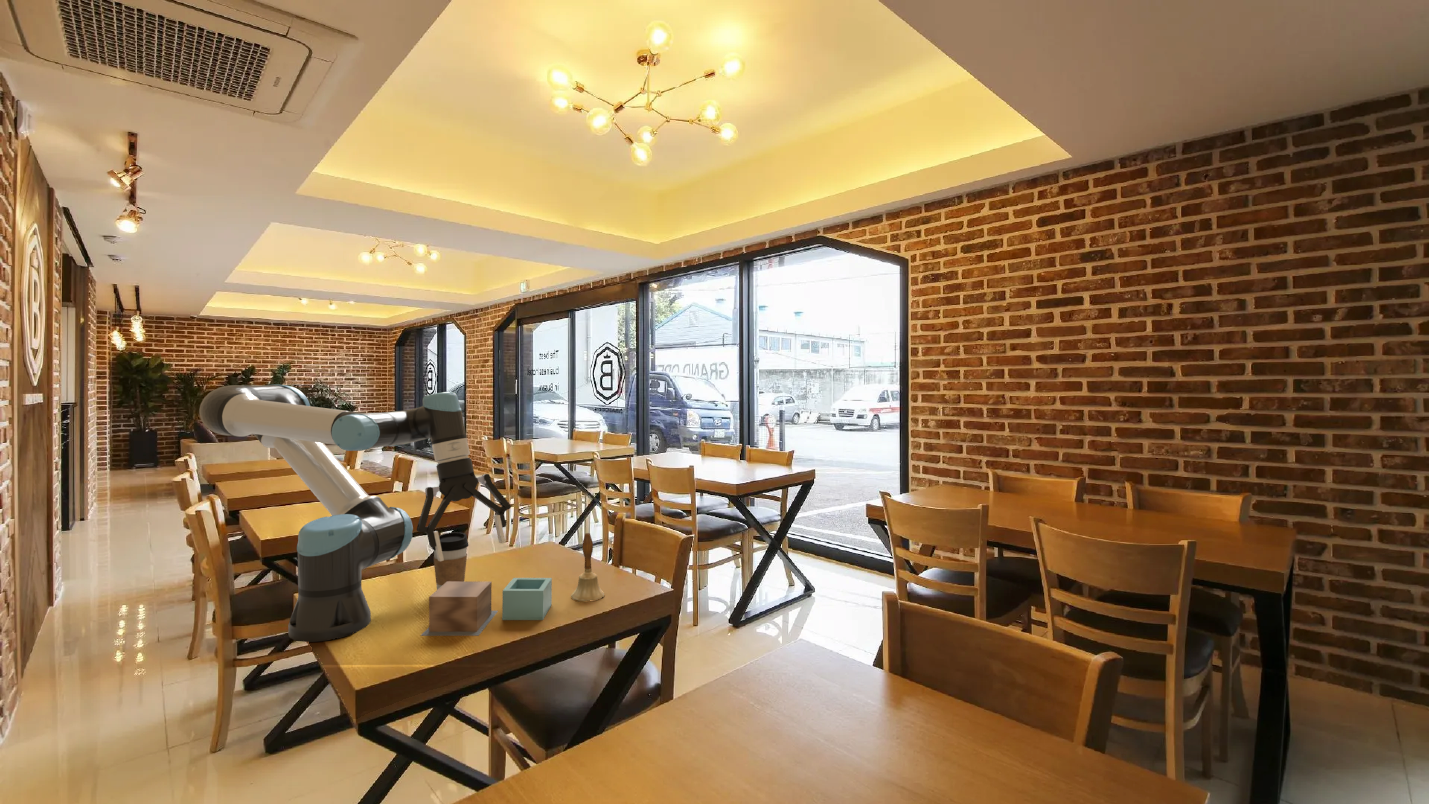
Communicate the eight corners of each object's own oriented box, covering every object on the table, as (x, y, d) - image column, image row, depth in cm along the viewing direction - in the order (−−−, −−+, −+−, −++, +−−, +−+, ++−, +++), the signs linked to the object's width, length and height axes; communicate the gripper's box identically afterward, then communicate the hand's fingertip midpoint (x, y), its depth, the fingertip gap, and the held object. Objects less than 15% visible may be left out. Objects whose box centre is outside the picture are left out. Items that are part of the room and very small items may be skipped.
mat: (420, 637, 131) (420, 635, 131) (445, 612, 145) (445, 610, 145) (478, 637, 132) (478, 635, 132) (498, 612, 146) (498, 610, 146)
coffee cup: (474, 590, 160) (474, 532, 159) (457, 602, 151) (458, 541, 151) (443, 589, 161) (443, 531, 160) (424, 600, 152) (424, 539, 152)
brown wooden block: (429, 631, 133) (429, 596, 133) (446, 613, 143) (446, 581, 143) (476, 631, 134) (477, 596, 133) (491, 613, 144) (491, 581, 143)
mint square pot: (502, 621, 140) (502, 590, 140) (513, 606, 149) (513, 577, 149) (543, 621, 141) (543, 590, 140) (551, 606, 150) (551, 577, 149)
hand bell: (586, 604, 152) (587, 539, 151) (564, 596, 157) (564, 533, 156) (611, 595, 158) (612, 533, 158) (589, 588, 163) (590, 527, 163)
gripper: (395, 471, 132) (416, 570, 132) (512, 447, 147) (530, 536, 146) (390, 472, 139) (410, 567, 138) (503, 449, 153) (521, 534, 153)
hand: (472, 551), depth 142 cm, fingers open, 13 cm apart
